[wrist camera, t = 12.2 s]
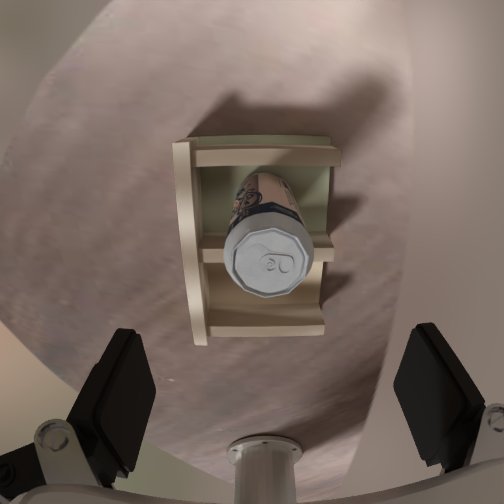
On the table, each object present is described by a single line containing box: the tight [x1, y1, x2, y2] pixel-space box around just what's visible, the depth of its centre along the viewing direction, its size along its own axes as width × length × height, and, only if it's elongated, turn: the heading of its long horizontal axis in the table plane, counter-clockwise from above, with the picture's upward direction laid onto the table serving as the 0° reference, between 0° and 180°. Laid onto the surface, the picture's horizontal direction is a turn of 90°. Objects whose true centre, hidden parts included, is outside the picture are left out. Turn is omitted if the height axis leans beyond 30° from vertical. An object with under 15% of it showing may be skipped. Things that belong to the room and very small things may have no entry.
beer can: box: [223, 172, 314, 298], centre depth 21 cm, size 5×5×12 cm
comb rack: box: [172, 135, 342, 345], centre depth 27 cm, size 18×12×5 cm, turn 1°
